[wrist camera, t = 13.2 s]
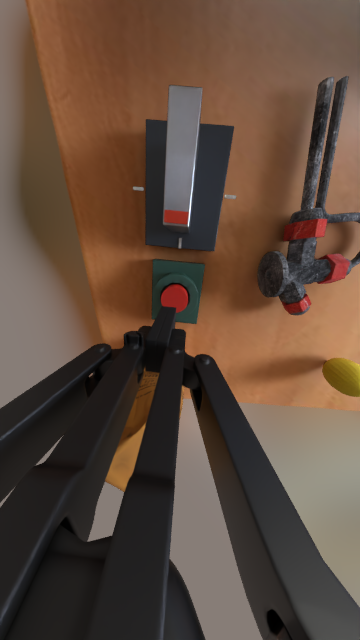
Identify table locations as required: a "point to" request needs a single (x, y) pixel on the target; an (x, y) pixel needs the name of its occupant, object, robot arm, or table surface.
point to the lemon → (343, 375)
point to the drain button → (175, 297)
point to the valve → (310, 217)
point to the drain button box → (182, 275)
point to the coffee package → (133, 433)
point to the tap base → (206, 188)
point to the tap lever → (181, 156)
